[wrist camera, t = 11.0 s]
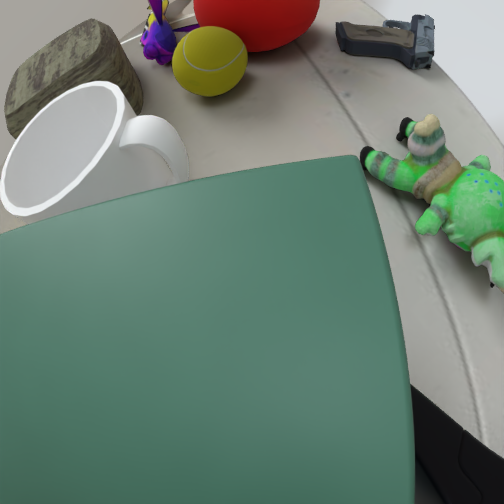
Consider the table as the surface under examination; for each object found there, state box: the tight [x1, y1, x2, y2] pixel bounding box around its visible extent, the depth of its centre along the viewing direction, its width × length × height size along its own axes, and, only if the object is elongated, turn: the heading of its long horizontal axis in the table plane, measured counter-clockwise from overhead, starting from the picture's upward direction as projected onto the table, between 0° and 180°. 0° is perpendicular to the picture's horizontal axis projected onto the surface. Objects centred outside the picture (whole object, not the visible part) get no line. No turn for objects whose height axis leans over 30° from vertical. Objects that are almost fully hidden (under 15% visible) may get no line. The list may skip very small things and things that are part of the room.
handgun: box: [336, 15, 435, 70], centre depth 28 cm, size 2×14×12 cm
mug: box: [0, 81, 189, 224], centre depth 20 cm, size 13×10×10 cm
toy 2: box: [360, 114, 504, 293], centre depth 18 cm, size 10×7×15 cm
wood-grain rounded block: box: [4, 19, 143, 139], centre depth 27 cm, size 14×9×25 cm
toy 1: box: [139, 0, 200, 65], centre depth 32 cm, size 12×19×10 cm
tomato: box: [194, 0, 320, 52], centre depth 25 cm, size 12×14×12 cm
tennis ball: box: [172, 26, 248, 96], centre depth 25 cm, size 7×7×7 cm
